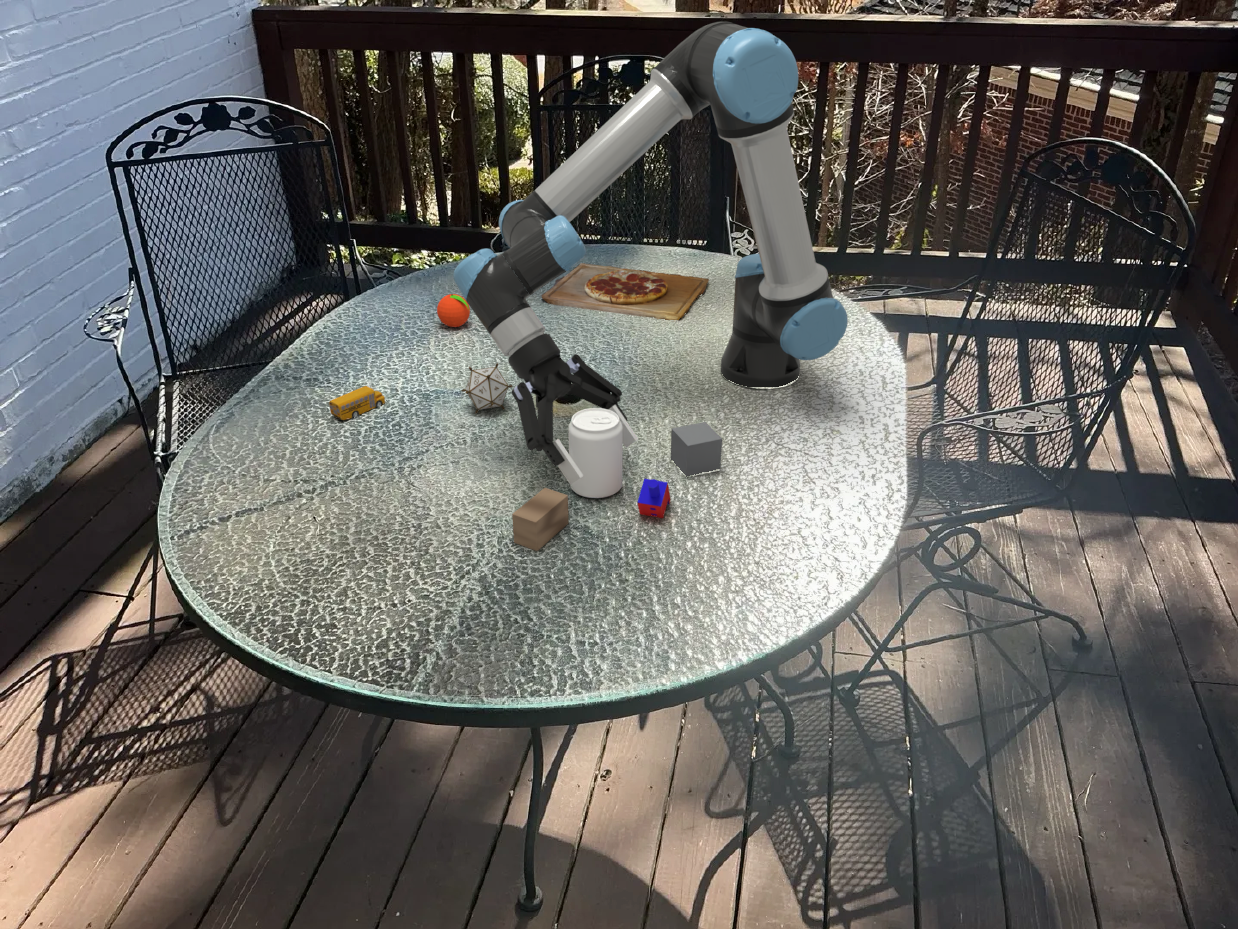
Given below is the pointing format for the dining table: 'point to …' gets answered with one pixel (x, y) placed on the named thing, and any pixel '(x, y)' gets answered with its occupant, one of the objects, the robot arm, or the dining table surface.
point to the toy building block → (653, 498)
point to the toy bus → (356, 403)
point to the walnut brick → (540, 519)
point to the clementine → (453, 310)
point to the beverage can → (596, 452)
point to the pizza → (626, 291)
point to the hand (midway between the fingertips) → (605, 461)
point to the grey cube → (696, 448)
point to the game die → (486, 388)
